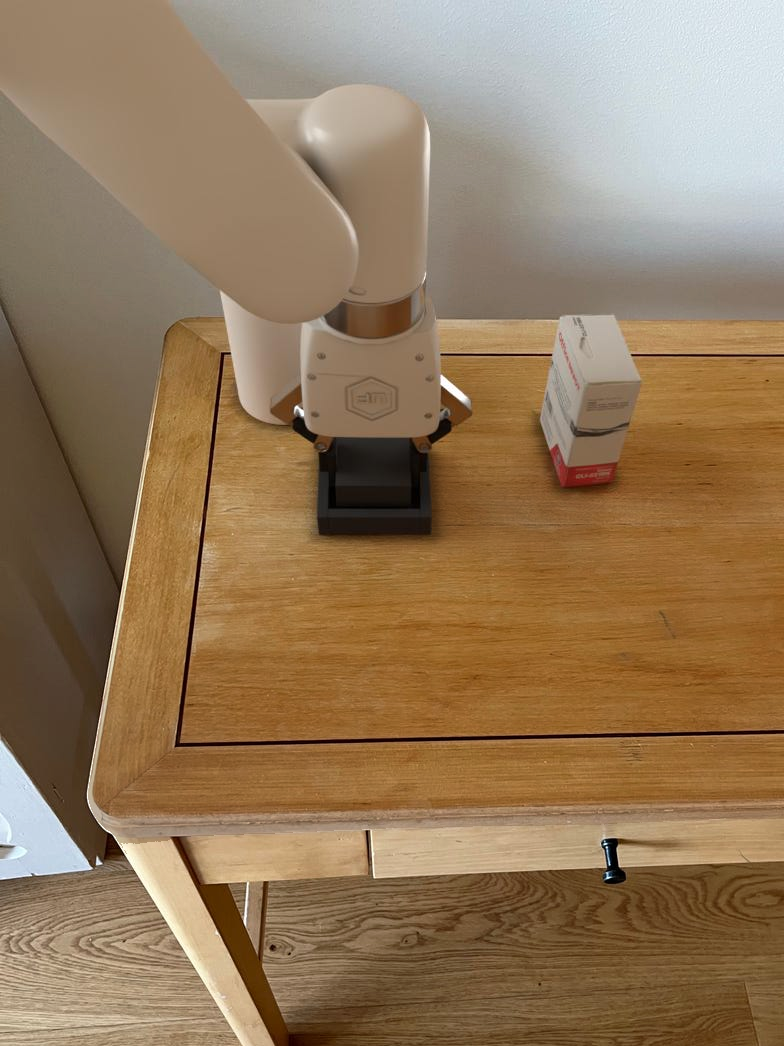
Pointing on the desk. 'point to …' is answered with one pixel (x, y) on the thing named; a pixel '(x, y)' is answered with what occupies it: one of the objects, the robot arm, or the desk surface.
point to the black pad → (373, 472)
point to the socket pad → (375, 512)
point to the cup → (261, 357)
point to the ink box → (588, 398)
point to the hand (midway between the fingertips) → (373, 473)
